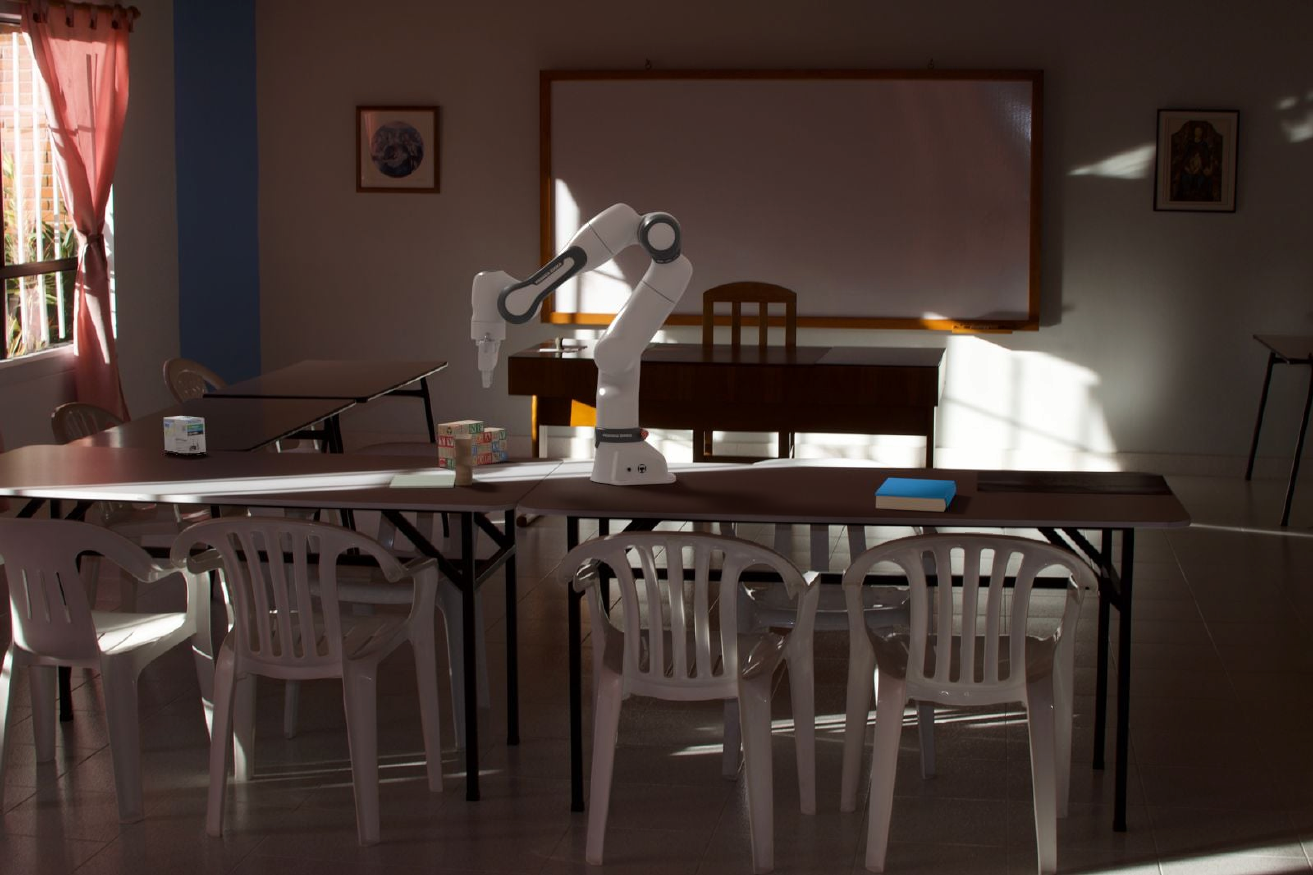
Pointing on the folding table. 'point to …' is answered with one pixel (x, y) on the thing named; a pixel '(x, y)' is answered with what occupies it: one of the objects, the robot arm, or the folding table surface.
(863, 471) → the folding table surface
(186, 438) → the light bulb box
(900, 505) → the book
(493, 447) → the stack of blocks
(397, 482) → the mat
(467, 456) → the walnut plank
